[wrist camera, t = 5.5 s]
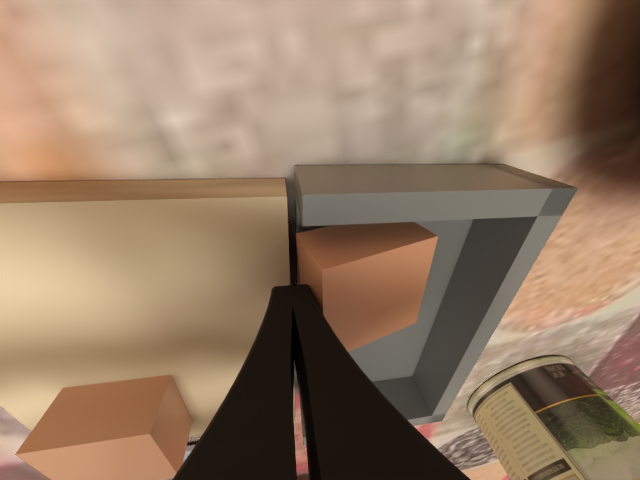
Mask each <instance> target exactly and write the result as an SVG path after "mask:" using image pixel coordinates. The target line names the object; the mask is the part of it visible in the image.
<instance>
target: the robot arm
mask: <svg viewBox="0 0 640 480" xmlns="http://www.w3.org/2000/svg"><path fill="white" fill-rule="evenodd" d="M294 359H295V366H296V372H297V378H298V385H299V391H300V397H301V403H302V410H303V416H304V424H305V434H306V446H307V458H308V471H309V480H470V479H469V478H468V477H467V476H466V475H465V474H464V473H462V472H461V471H460V470H459V469H458V468H457V467H456V466H455V465H454V464H453V463H451V462H450V461H449V460H448V459H447V458H446V457H445V456H444V455H443V454H442V453H440V452H439V451H438V450H437V449H436V448H435V447H434V446H433V445H432V444H431V443H430V442H429V441H428V440H427V439H426V438H425V437H424V436H423V435H422V434H421V433H420V432H419V431H418V430H417V429H416V428H415V427H414V426H413V425H412V424H411V423H410V422H409V421H408V420H407V419H406V418H405V417H404V416H403V415H402V414H401V413H400V412H399V411H398V410H397V409H396V408H395V407H394V406H393V405H392V404H391V403H390V401H389V400H388V399H387V398H386V397H385V396H384V395H383V394H382V393H381V392H380V391H379V389H378V388H377V387H376V386H375V385H374V384H373V383H372V381H371V380H370V379H369V378H368V377H367V375H366V374H365V373H364V372H363V371H362V369H361V368H360V367H359V366H358V364H357V363H356V362H355V361H354V359H353V358H352V357H351V355H350V354H349V353H348V351H347V350H346V349H345V347H344V346H343V344H342V343H341V342H340V340H339V339H338V337H337V336H336V334H335V333H334V331H333V330H332V328H331V326H330V325H329V323H328V322H327V320H326V319H325V317H324V315H323V313H322V312H321V310H320V308H319V306H318V304H317V303H316V301H315V299H314V296H313V294H312V292H311V290H310V287H309V286H308V285H307V284H299V285H287V286H275V287H273V288H272V290H271V296H270V300H269V304H268V307H267V310H266V313H265V316H264V318H263V321H262V324H261V326H260V329H259V331H258V334H257V336H256V338H255V341H254V343H253V345H252V347H251V349H250V351H249V353H248V355H247V358H246V360H245V362H244V364H243V366H242V368H241V370H240V372H239V373H238V375H237V377H236V379H235V381H234V383H233V385H232V386H231V388H230V390H229V392H228V393H227V395H226V397H225V399H224V400H223V402H222V404H221V405H220V407H219V409H218V410H217V412H216V414H215V415H214V417H213V419H212V420H211V422H210V424H209V425H208V427H207V428H206V430H205V431H204V433H203V435H202V436H201V438H200V439H199V441H198V442H197V444H196V445H189V446H187V447H186V451H185V455H184V459H183V463H182V466H181V467H180V469H179V470H178V472H177V473H176V475H175V476H174V478H169V479H163V480H297V474H296V457H295V440H294V422H293V400H294Z"/></svg>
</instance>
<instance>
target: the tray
mask: <svg viewBox="0 0 640 480" xmlns="http://www.w3.org/2000/svg"><path fill="white" fill-rule="evenodd" d="M577 189H578V188H576V187H573V186H570V185H567V184H564V183H561V182H558V181H555V180H552V179H548V178H545V177H542V176H539V175H536V174H533V173H530V172H527V171H524V170H521V169H518V168H515V167H511V166H508V165H505V164H404V165H295V202H296V233H301V232H305V231H309V230H314V229H318V228H322V227H327V226H331V225H348V224H371V223H395V222H415V223H417V224H419V225H420V226H422V227H424V228H426V229H427V230H429V231H431V232H432V233H434V234H436V235H437V236H438V240H437V243H436V247H435V251H434V255H433V259H432V263H431V267H430V271H429V275H428V278H427V282H426V286H425V290H424V294H423V298H422V302H421V306H420V310H419V313H418V317H417V321H416V323H414V324H412V325H410V326H407V327H405V328H403V329H400V330H398V331H396V332H393V333H391V334H389V335H386V336H384V337H382V338H379V339H377V340H375V341H372V342H370V343H368V344H365V345H363V346H361V347H358V348H356V349H354V350H351V351H349V352H348V353H349V354H350V355H351V357H352V358H353V359H354V361H355V362H356V363H357V364H358V366H359V367H360V368H361V369H362V371H363V372H364V373H365V374H366V375H367V377H368V378H369V379H370V380H371V381H372V383H373V384H374V385H375V386H376V387H377V388H378V389H379V391H380V392H381V393H382V394H383V395H384V396H385V397H386V398H387V399H388V400H389V401H390V403H391V404H392V405H393V406H394V407H395V408H396V409H397V410H398V411H399V412H400V413H401V414H402V415H403V416H404V417H405V418H406V419H407V420H408V421H409V422H410V423H411V424H412V425H413V426H416V425H421V424H427V423H433V422H439V421H442V420H443V418H444V416H445V415H446V413H447V411H448V410H449V408H450V406H451V404H452V403H453V401H454V399H455V398H456V396H457V394H458V392H459V391H460V389H461V387H462V386H463V384H464V382H465V380H466V379H467V377H468V375H469V374H470V372H471V370H472V368H473V367H474V365H475V363H476V362H477V360H478V358H479V356H480V355H481V353H482V351H483V350H484V348H485V346H486V344H487V343H488V341H489V339H490V338H491V336H492V334H493V333H494V331H495V329H496V327H497V326H498V324H499V322H500V321H501V319H502V317H503V315H504V314H505V312H506V310H507V309H508V307H509V305H510V303H511V302H512V300H513V298H514V297H515V295H516V293H517V291H518V290H519V288H520V286H521V285H522V283H523V281H524V279H525V278H526V276H527V274H528V273H529V271H530V269H531V267H532V266H533V264H534V262H535V261H536V259H537V257H538V256H539V254H540V252H541V250H542V249H543V247H544V245H545V244H546V242H547V240H548V238H549V237H550V235H551V233H552V232H553V230H554V228H555V226H556V225H557V223H558V221H559V220H560V218H561V216H562V214H563V213H564V211H565V209H566V208H567V206H568V204H569V202H570V201H571V199H572V197H573V196H574V194H575V192H576V190H577ZM296 255H297V243H296ZM299 284H300V277H299V266H298V255H297V285H299ZM299 396H300V391H299ZM300 409H301V421H302V434H303V445H306V434H305V424H304V416H303V410H302V403H301V397H300Z"/></svg>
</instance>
